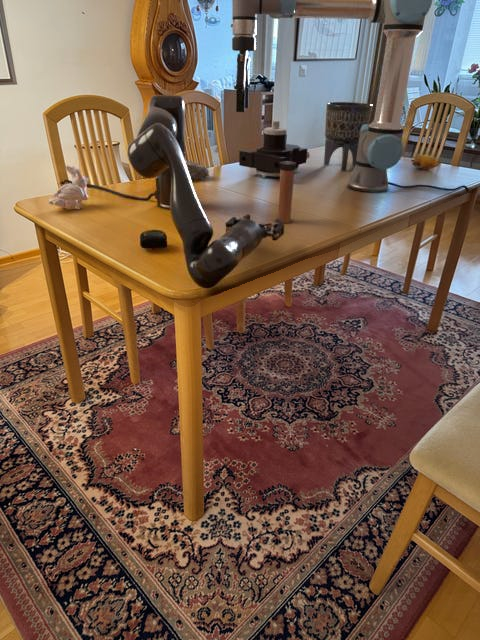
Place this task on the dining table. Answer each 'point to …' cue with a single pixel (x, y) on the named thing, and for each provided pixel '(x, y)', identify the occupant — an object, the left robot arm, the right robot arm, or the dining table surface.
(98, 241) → the dining table surface
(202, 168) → the rock
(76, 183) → the figurine
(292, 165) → the lid
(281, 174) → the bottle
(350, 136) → the planter
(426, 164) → the toy
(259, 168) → the mechanical component
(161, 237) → the tape measure
